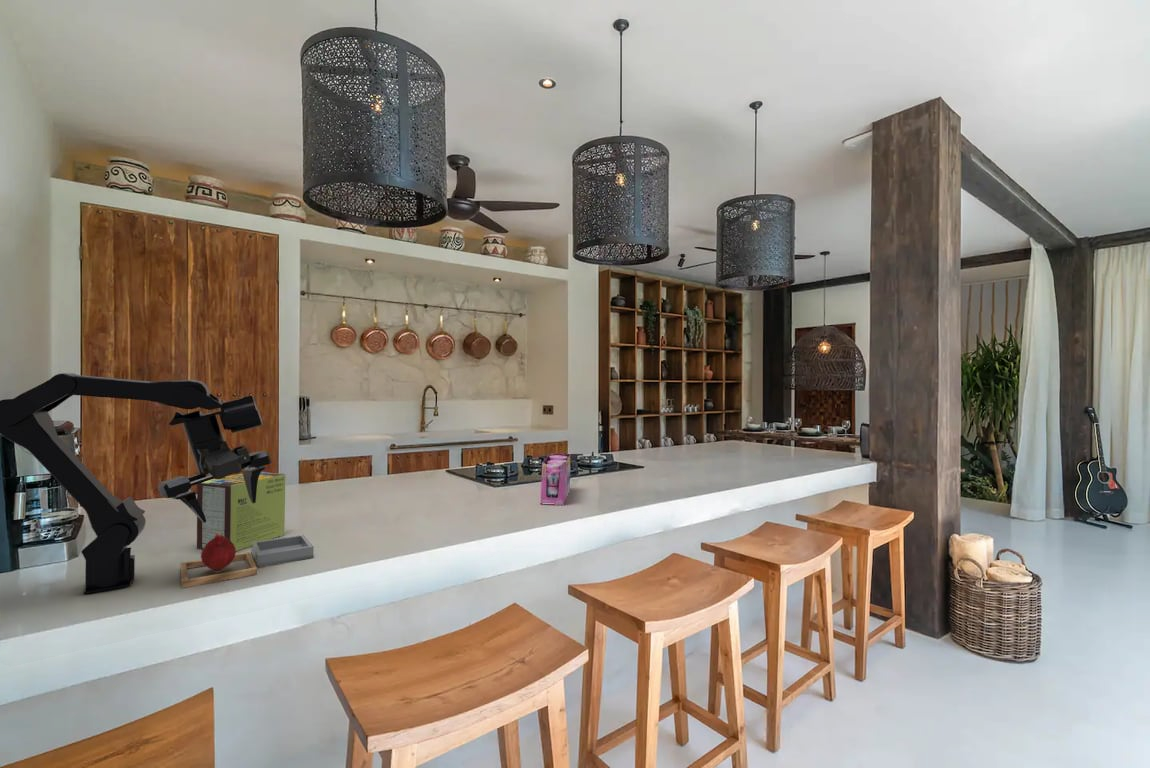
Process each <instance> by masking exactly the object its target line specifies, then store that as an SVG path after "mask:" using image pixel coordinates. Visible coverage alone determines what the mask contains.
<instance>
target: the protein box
mask: <svg viewBox="0 0 1150 768" xmlns="http://www.w3.org/2000/svg"><path fill="white" fill-rule="evenodd" d="M196 485H197V490H196V491H197V493H196V498H197V500H198V502H199V504H200V507H201V509H202V511H203V513H204V515H205V518H206V522H205V523H204V522H202V521H201V520H200V519H199V518H198V517H197V516H196V549H198V548H201V549H200V550H203V548H204V547H205V545H206V544H207V543H208V542H209V541H210V540H212V539H213V538H215V535H216V532H219V533H220V534H221V535H222V536H224V537H226V538H228V539H229V540H230V541H231V542H232V543H233V544H234V546H235V548H236V552H237V551H241V550H244V549H246V548H250V547H252V542H258V541H264V540H270V539H272V538H274V539H276V538H279V537H282V536H284V535H285V529H286V526H285V522H286V473H278V472H277V473H276V472H267V471H261V473H260V475H259V478H258V483H257V493H256V503H252V502H251V500H250V498H249V495H248V491H247V488H246V484H245V480H244V477H243V474H242V473H237V474H231V475H228V476H226V477H225V478H222V479H211V480H208V481H205V482H202V483H199V484H196ZM281 535H282V536H281ZM278 536H279V537H278ZM275 537H276V538H275Z"/></svg>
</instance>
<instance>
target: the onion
mask: <svg viewBox="0 0 1150 768" xmlns="http://www.w3.org/2000/svg"><path fill="white" fill-rule="evenodd" d="M201 550H202V551H201V553H200V558H201V559H200V560H202V562H203V563H204V565H205V566H204V567H207V568H208V569H210V570H212V571H213V572H215V573H219V572H222V570H224V569H226V568H227V567H228V566H229V565H230V564H231V563H232V562H234V561H233V559H234V557H235V554H237V553H236V552H237V551H236V548H235V546H234V544H233V543H232V542H231V541H230V540H229V539H228V538H226V537H224V536H222V535H221V534H220V533H219V532H216V535H215V538H213V539H212V540H210V541H209V542H208V543H207V544H206V545H205V547H204V548H203V549H201Z"/></svg>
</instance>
